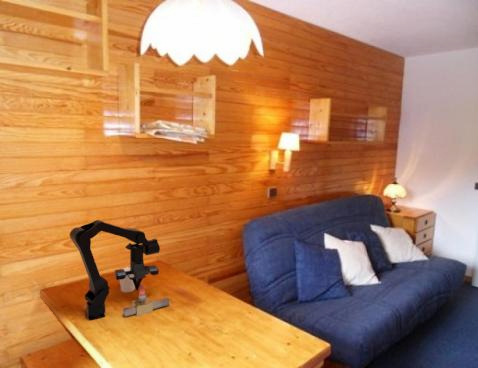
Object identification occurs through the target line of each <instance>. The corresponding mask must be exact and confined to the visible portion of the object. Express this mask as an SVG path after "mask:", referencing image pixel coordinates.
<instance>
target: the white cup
mask: <svg viewBox="0 0 478 368" xmlns="http://www.w3.org/2000/svg"><path fill="white" fill-rule="evenodd" d="M122 269H124V271H130V267H123V268H122ZM119 285H120V292H122V293H130V292H134V290H136V288H135V286H134V283H133V280H130V279H129V277H128V275H127V276H126V277H125V278H124V279H121V280H119Z"/></svg>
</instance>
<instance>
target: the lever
mask: <svg viewBox="0 0 478 368" xmlns="http://www.w3.org/2000/svg"><path fill="white" fill-rule="evenodd" d="M138 292H139V295H138V300H139V301H145V300H146V298H147V294H146V292H145V284H140V286H139V289H138Z"/></svg>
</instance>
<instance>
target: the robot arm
mask: <svg viewBox="0 0 478 368" xmlns="http://www.w3.org/2000/svg"><path fill="white" fill-rule="evenodd" d="M101 232H104V233H107V234H110V235H114V236H119V237H122V238H124V239H127V240H128V241H130V243H128V244H126V246H125V249H127V250H129V261H130V262H129V268H130V271H124V269H123V268H120V269H115V270H114V278H115V280H116V281H118V280H119V281H120V280H121V279H124V278H125V277H126V276H127V275H128V277H129V279H130V280H133V283H134V286H135V291H138V292H139V286H140V285H141V283H142V280H143V279H145V278H147V275H149V274H150V275H151V276H157V275H160V274H159V271H160V270H159V268H158V267H157V265H155V264H154V265H153V264H152V265H145V263H144V262H145V261H144V255H145V256H150V255H151V256H152V255H156V254H159V253H160V251H161V248H160V244H159V241H158V239H157V238H153V239H147V238H146V234H145V231H141V230H139V229H137V228H131V227H130V228H129V227H125V228H124V227H121V226H119V225H118V226H117V225H115V224H111V223H108V222H104V221H102V220H100V219H96V220H94V221H92V222H90V223H87V224H83V225H81V226H77V227H74V228H72V229H71V230H70V232H69V238H70V240H71V241H72V243H73V244H74V246H75V247H76V249H77V250H78V252H79V255H80V257H81V259H82V263H83V265H84V269H85V271H86V273H87V277H88V279H89V283H88V287H89V290H88V291H87V292H86V293H85V294H84V299H85V300H86V313H85V315H86V317H87V319H88V321H94V320H97V319H100V318H106V304H105V303H106V299H107V297H108V295H109V294H110V290H111V288H110V286H109V282H108V280H107V279H106V278H104V277H103V276H101V274H100V272H99V268H98V266H97V264H96V263H97V262H96V260H95V257H94V254H93V252H92V249H91V245H92V244H91V243H92V241H91V239H93V238H95V237H96V236H97V235H98V234H99V233H101ZM131 242H133V243H131Z"/></svg>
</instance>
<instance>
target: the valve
mask: <svg viewBox="0 0 478 368" xmlns="http://www.w3.org/2000/svg"><path fill="white" fill-rule="evenodd" d="M170 304H171V301H170V298H169V297H168V296H167V297H164V298H160V299H159V298H158V299H155V300H152V301H151V300H150V298H149V297H146V300H145V301H139V299H136V300H132V301H131V306H126V307H123V308H122V314H123V317H124V318H125V317H130V316H133V315H134V316H136V317H137V318H138V317H140V316H145V315H148V314H152V313H154V311H153V310H156V309H160V308H164V307H168V306H170Z"/></svg>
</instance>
